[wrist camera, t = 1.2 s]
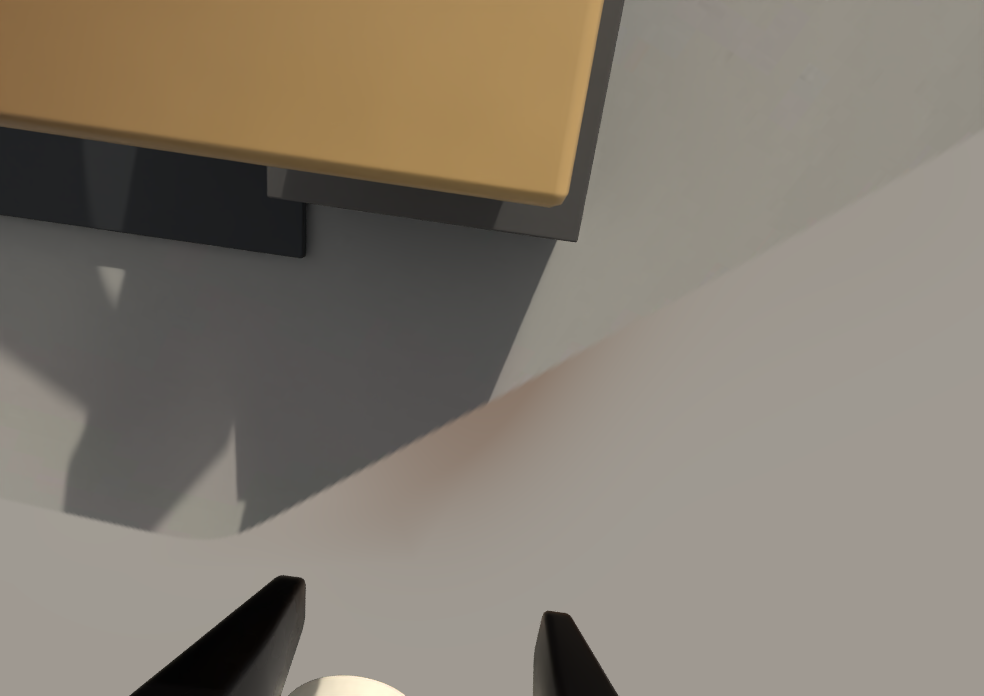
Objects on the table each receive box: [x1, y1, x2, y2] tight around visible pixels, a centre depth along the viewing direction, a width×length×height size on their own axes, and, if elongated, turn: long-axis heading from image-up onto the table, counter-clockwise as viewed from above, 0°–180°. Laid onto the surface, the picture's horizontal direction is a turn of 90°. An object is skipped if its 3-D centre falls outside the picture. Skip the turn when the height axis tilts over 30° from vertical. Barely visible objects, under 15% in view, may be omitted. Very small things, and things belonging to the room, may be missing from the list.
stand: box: [267, 0, 624, 242], centre depth 15 cm, size 9×9×4 cm
